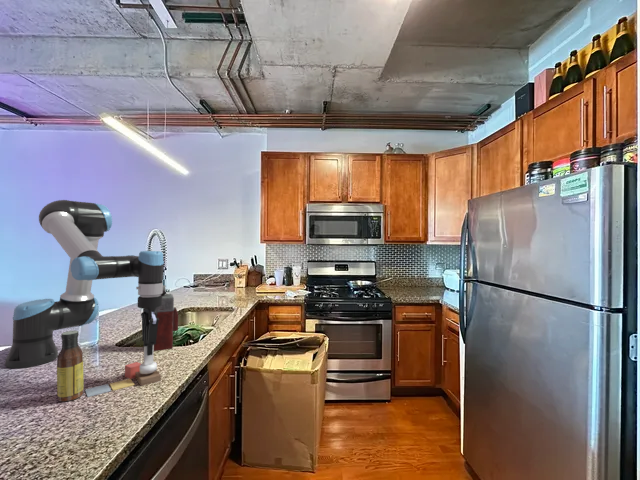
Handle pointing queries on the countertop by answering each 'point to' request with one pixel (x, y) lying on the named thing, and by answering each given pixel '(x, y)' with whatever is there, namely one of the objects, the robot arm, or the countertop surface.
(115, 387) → the square
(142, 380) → the brown flat block
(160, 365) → the countertop surface
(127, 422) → the countertop surface
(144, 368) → the dome
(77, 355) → the sauce bottle
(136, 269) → the robot arm
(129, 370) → the die
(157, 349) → the dark red rectangular canister
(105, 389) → the square
